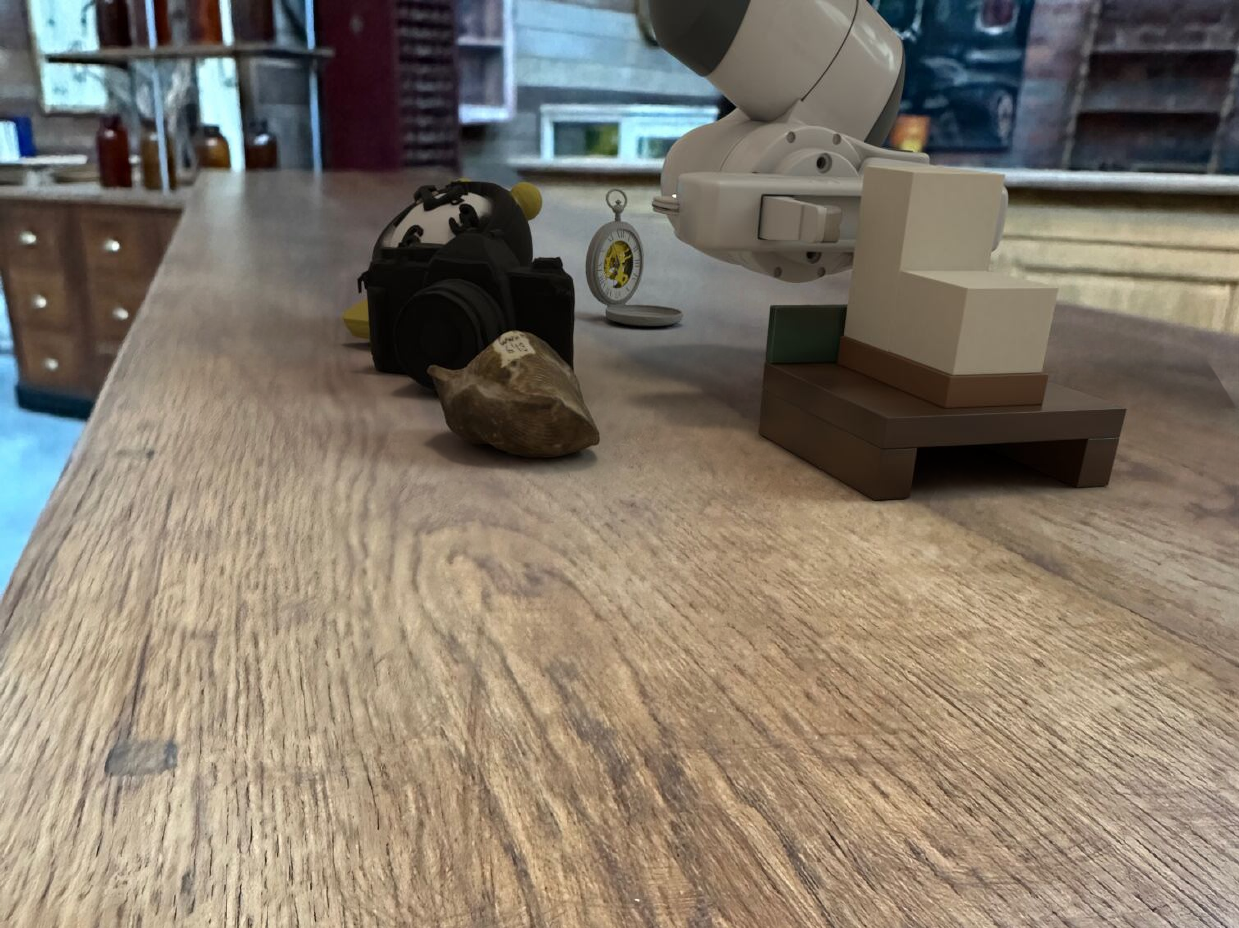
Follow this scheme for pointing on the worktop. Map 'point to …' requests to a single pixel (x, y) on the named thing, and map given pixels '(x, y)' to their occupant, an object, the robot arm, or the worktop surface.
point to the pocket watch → (622, 273)
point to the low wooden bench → (911, 416)
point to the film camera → (462, 303)
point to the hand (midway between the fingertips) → (906, 227)
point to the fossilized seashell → (517, 399)
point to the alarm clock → (457, 224)
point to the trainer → (942, 293)
